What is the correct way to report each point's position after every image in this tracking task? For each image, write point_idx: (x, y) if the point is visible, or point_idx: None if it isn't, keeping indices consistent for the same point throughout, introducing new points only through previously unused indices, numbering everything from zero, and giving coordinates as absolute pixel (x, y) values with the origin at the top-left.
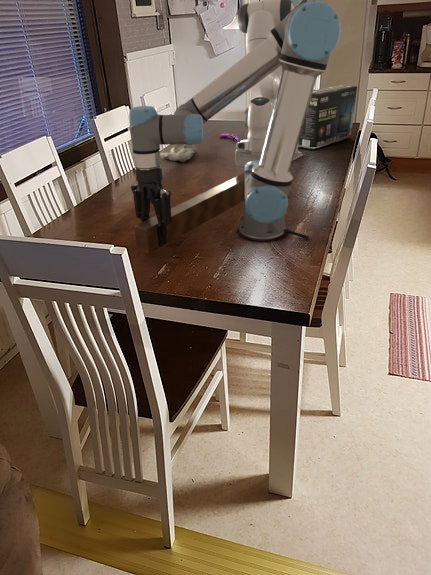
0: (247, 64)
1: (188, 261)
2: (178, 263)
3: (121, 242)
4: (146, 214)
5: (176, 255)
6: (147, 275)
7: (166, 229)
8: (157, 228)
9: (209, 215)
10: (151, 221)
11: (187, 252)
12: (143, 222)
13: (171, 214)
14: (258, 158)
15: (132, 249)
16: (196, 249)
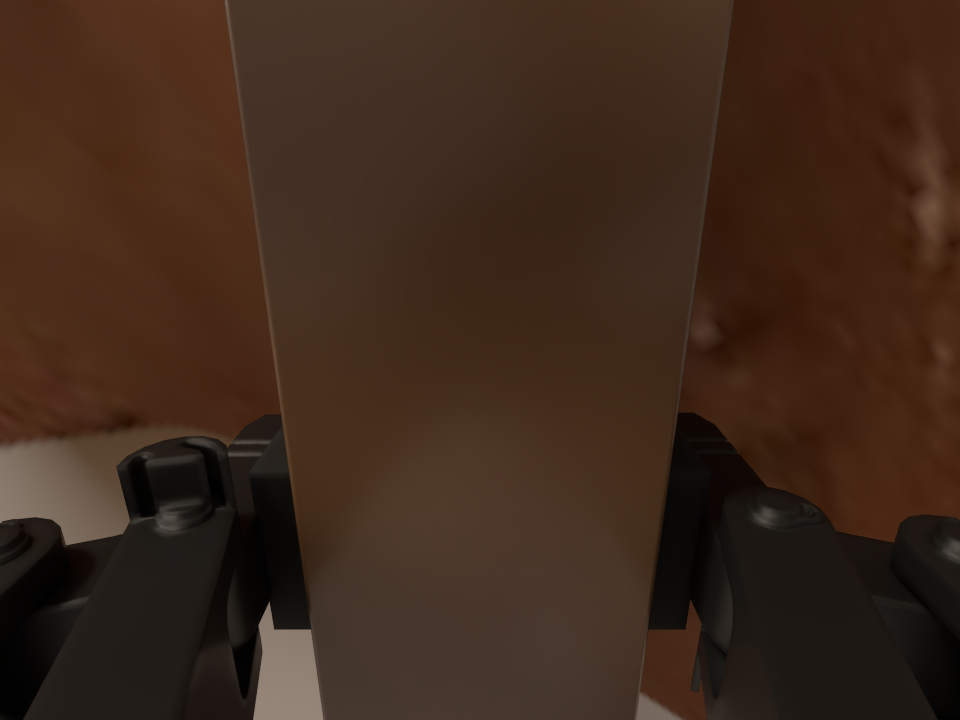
0: None
1: (895, 337)
2: (819, 414)
3: (13, 378)
4: (232, 696)
5: (714, 301)
6: (688, 657)
7: (744, 468)
8: None
9: None
10: (455, 625)
11: (790, 181)
12: (352, 717)
13: (608, 2)
14: None
15: (240, 429)
16: (857, 52)
